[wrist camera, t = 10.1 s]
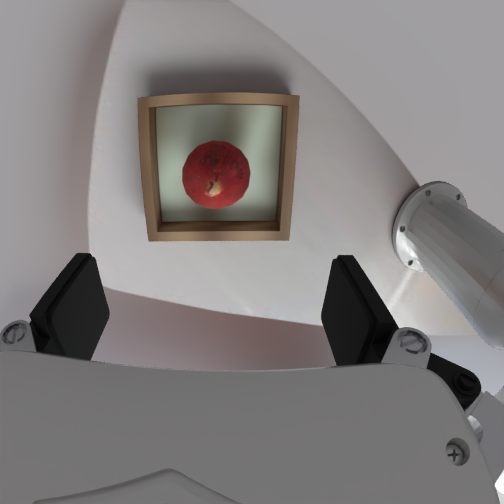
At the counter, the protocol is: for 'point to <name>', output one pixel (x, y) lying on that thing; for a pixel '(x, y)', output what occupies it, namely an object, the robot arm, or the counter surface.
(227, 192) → the dark red round piece
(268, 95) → the tray
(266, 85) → the counter surface
